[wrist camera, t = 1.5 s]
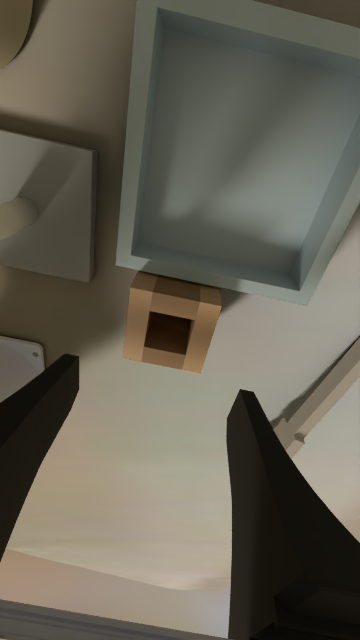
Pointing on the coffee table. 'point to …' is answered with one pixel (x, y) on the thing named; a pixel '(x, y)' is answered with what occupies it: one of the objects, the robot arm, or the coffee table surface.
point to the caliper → (319, 401)
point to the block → (170, 321)
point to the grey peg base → (47, 206)
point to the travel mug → (13, 27)
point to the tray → (239, 145)
